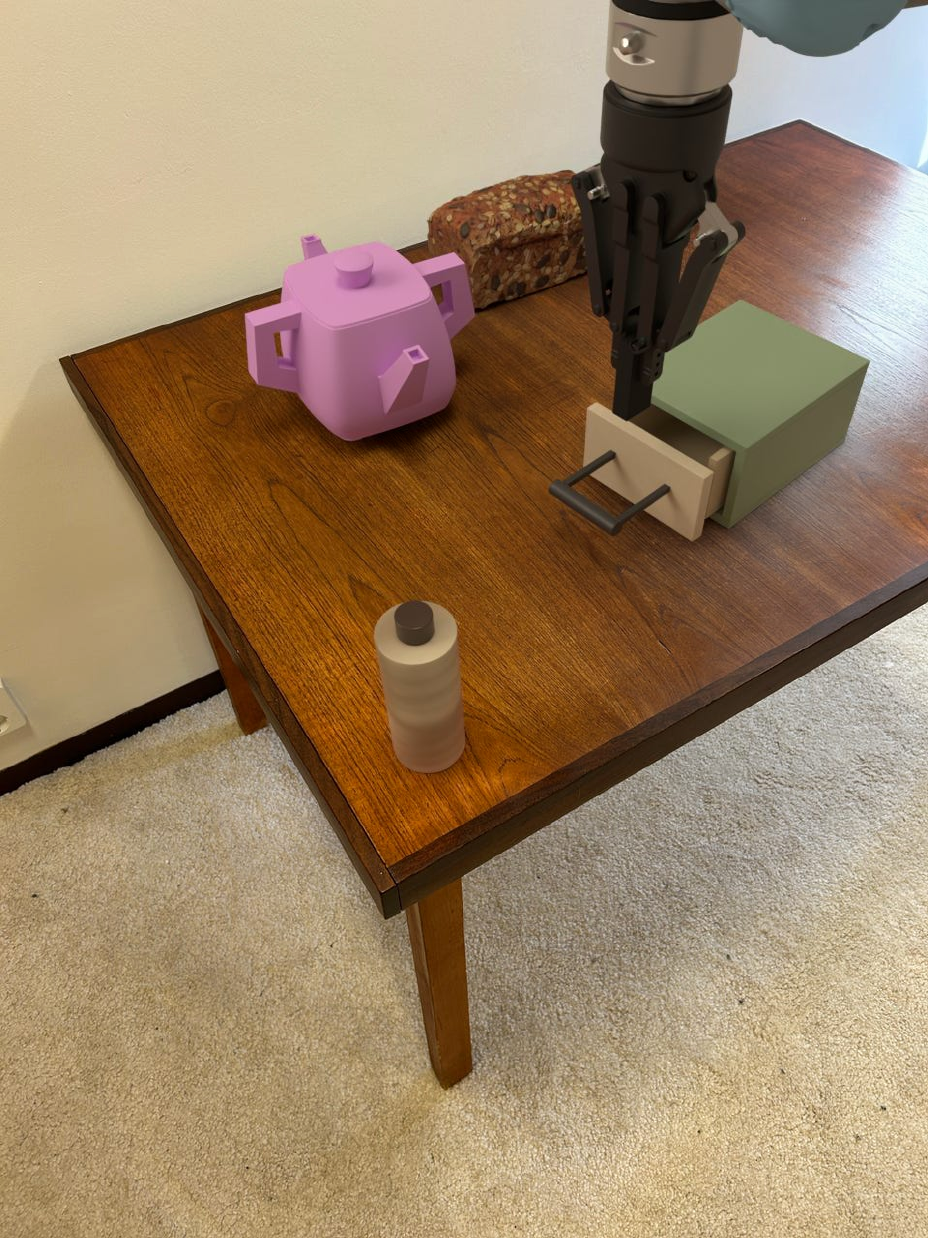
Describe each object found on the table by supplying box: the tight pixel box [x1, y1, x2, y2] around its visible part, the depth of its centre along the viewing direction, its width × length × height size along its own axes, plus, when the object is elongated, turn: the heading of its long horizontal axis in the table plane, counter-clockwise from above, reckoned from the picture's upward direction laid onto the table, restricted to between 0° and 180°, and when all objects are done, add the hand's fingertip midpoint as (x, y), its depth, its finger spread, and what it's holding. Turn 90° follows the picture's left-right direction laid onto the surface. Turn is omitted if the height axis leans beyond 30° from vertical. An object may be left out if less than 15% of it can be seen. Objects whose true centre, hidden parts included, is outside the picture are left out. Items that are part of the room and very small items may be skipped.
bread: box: [426, 169, 587, 310], centre depth 107 cm, size 19×11×10 cm, turn 119°
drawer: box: [548, 401, 736, 542], centre depth 82 cm, size 23×13×7 cm, turn 131°
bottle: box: [373, 599, 466, 774], centre depth 64 cm, size 5×5×14 cm
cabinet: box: [651, 299, 871, 530], centre depth 86 cm, size 17×14×9 cm
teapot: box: [244, 233, 476, 442], centre depth 90 cm, size 19×18×15 cm
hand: (631, 409), depth 74 cm, fingers closed
